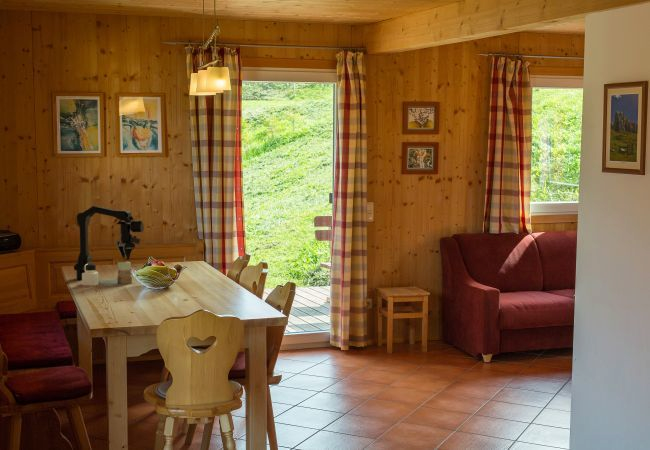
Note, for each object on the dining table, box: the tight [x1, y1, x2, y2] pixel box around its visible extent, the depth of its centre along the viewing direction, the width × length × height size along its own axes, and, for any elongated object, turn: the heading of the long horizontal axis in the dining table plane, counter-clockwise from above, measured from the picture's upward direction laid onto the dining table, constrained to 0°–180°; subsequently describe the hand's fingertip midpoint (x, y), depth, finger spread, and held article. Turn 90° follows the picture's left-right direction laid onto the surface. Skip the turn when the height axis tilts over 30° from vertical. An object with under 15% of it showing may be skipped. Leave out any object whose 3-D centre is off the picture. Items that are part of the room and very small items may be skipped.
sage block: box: [117, 261, 132, 270], centre depth 482 cm, size 6×6×4 cm
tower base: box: [116, 275, 133, 286], centre depth 483 cm, size 6×6×4 cm
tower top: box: [117, 268, 132, 277], centre depth 482 cm, size 6×6×4 cm
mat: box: [99, 278, 135, 287], centre depth 486 cm, size 23×17×1 cm
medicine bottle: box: [81, 263, 100, 286], centre depth 478 cm, size 7×7×12 cm
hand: (125, 258), depth 493 cm, fingers open, 9 cm apart
